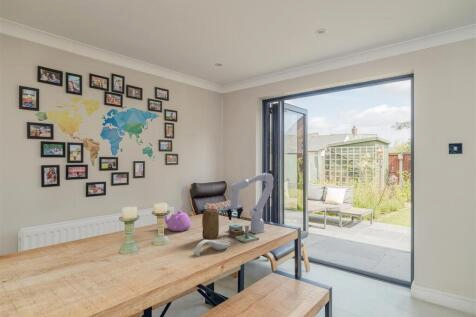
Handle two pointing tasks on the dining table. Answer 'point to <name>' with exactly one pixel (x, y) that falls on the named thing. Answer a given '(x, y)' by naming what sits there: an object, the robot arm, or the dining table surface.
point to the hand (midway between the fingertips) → (234, 219)
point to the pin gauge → (246, 232)
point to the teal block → (235, 226)
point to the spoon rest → (214, 243)
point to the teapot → (178, 221)
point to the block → (210, 224)
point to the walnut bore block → (236, 232)
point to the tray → (251, 238)
